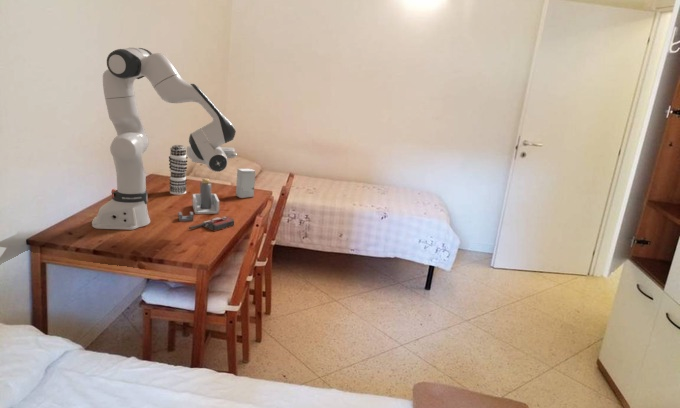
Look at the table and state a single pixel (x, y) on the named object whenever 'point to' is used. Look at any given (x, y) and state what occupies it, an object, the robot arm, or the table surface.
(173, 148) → the decorative candle
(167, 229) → the table surface
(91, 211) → the table surface
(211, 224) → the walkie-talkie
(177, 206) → the table surface
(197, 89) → the robot arm
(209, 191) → the grey bottle
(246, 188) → the skincare box
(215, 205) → the box
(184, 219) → the cable clip
